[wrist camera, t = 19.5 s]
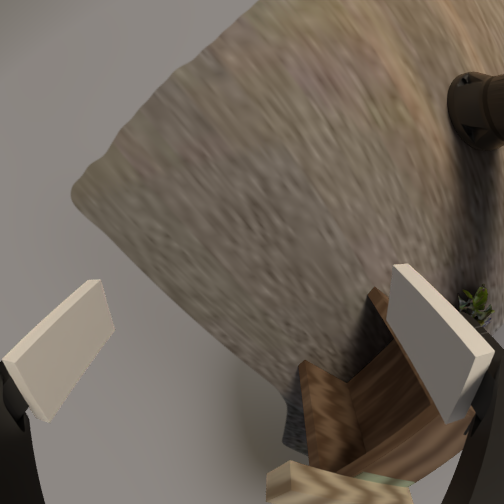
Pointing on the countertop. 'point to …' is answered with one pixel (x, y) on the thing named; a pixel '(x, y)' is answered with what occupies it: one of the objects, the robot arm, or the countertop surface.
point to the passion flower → (477, 305)
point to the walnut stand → (377, 419)
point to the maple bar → (327, 488)
